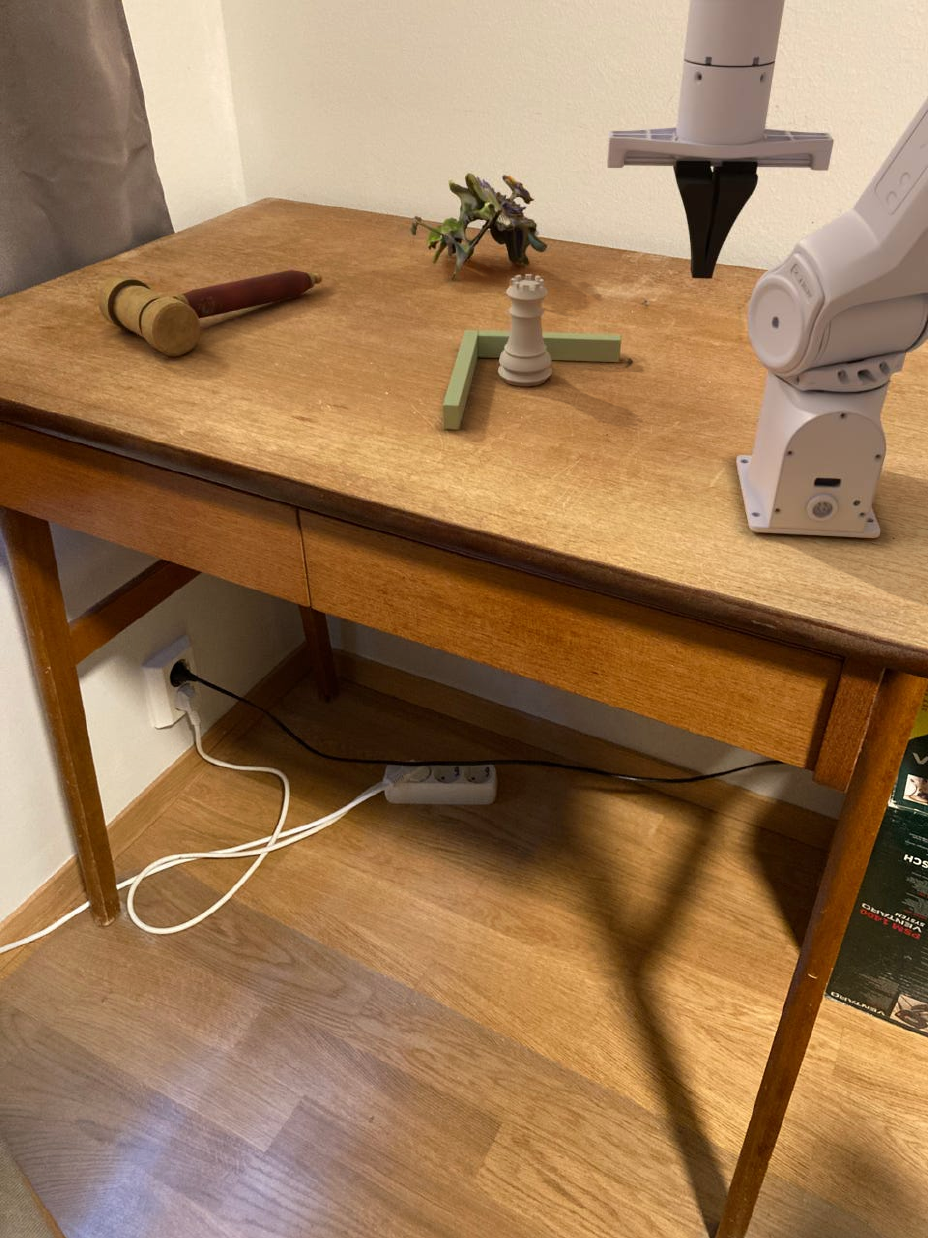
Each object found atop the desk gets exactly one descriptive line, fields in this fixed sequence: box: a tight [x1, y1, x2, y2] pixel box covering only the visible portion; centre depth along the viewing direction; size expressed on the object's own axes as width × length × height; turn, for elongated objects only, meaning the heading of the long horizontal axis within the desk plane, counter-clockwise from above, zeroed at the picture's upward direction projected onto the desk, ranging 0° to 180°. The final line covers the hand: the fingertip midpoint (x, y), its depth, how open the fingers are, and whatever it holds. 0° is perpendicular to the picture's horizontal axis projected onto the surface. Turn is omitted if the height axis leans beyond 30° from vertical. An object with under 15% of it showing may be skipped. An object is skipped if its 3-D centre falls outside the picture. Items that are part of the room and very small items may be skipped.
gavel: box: [97, 269, 323, 357], centre depth 93 cm, size 21×5×10 cm
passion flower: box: [410, 172, 548, 281], centre depth 100 cm, size 11×11×12 cm
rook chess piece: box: [497, 273, 553, 387], centre depth 80 cm, size 4×4×8 cm
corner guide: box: [442, 329, 622, 431], centre depth 80 cm, size 15×13×2 cm
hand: (701, 273), depth 72 cm, fingers closed
